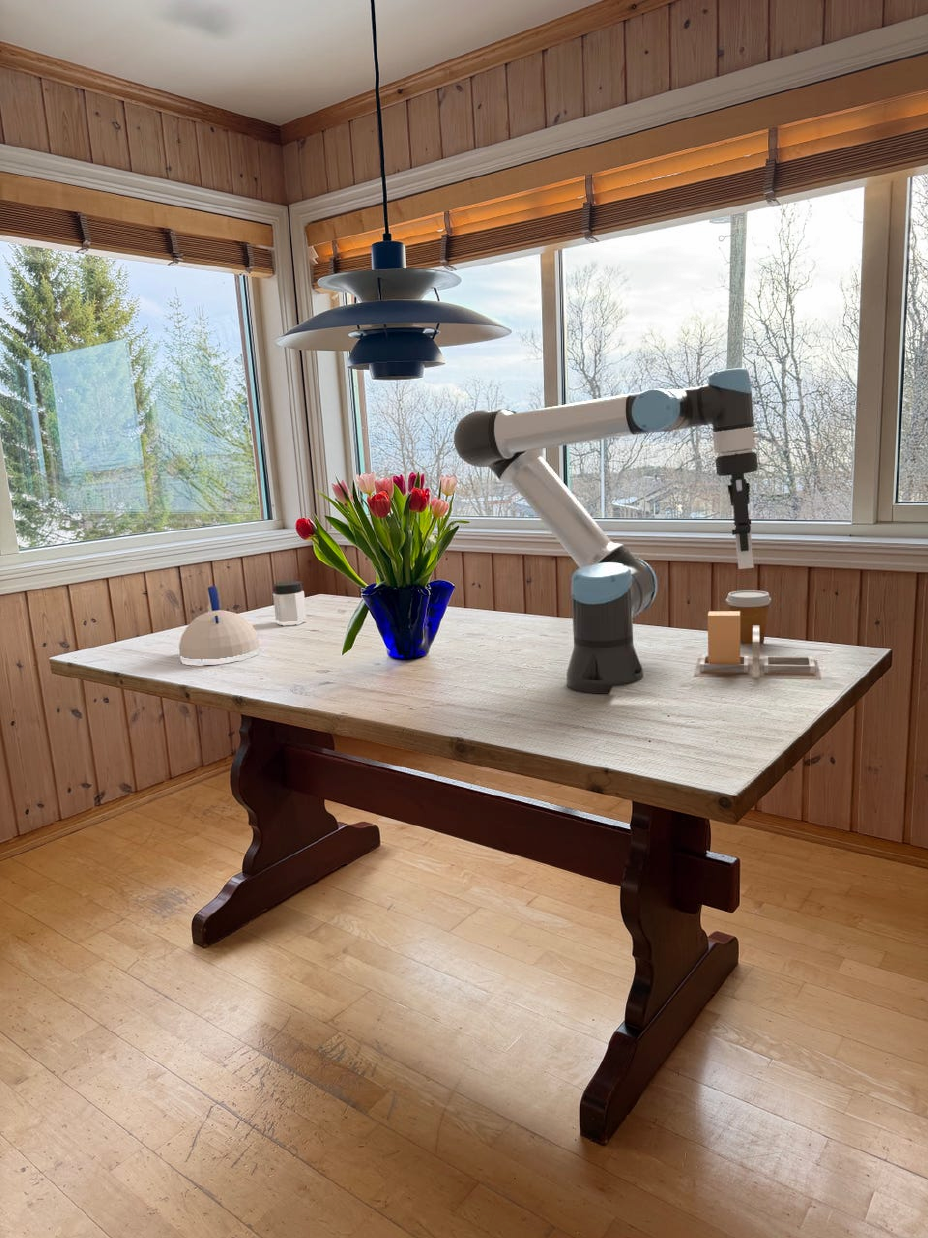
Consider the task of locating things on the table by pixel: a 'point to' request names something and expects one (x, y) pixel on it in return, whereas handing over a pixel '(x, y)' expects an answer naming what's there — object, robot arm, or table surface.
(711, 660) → the block
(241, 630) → the beige dome cover
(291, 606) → the jar
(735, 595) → the disposable coffee cup
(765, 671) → the divided caddy with handle
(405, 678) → the table surface
